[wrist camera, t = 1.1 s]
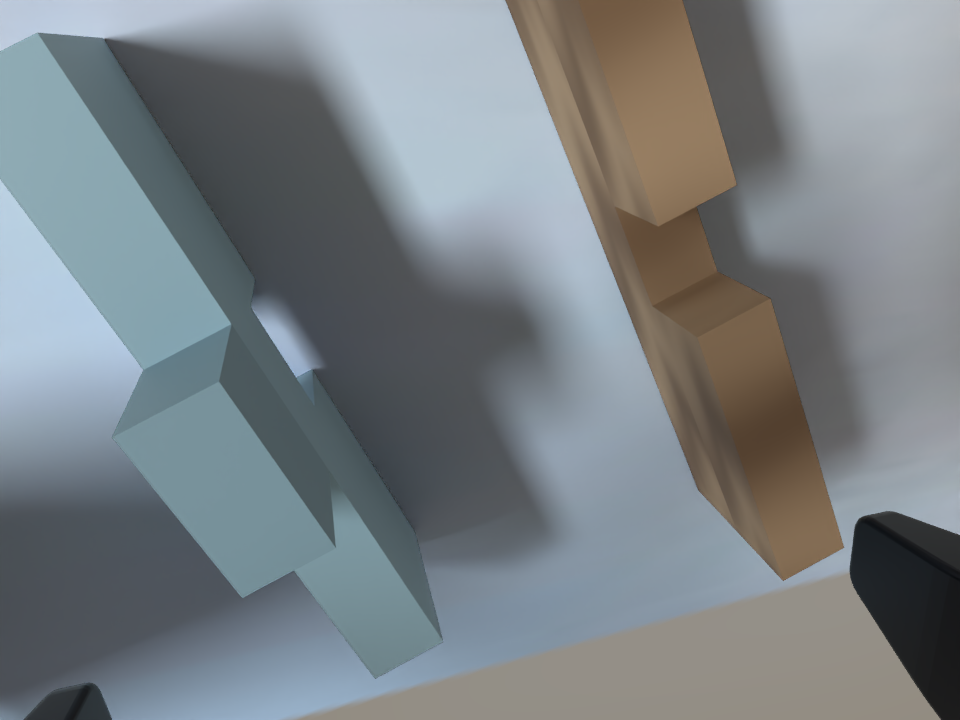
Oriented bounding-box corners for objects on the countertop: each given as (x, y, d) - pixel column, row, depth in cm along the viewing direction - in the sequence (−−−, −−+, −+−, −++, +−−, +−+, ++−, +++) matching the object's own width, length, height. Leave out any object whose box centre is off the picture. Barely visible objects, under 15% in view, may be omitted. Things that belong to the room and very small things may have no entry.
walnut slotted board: (748, 462, 26) (843, 547, 22) (698, 490, 26) (783, 580, 22) (526, -177, 18) (607, -256, 13) (450, -139, 18) (505, -205, 13)
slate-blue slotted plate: (415, 532, 24) (467, 735, 17) (359, 562, 24) (388, 778, 17) (103, 38, 17) (-31, 27, 10) (24, 77, 17) (-167, 94, 10)
